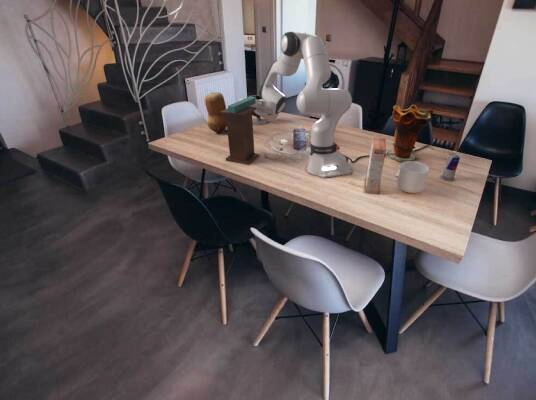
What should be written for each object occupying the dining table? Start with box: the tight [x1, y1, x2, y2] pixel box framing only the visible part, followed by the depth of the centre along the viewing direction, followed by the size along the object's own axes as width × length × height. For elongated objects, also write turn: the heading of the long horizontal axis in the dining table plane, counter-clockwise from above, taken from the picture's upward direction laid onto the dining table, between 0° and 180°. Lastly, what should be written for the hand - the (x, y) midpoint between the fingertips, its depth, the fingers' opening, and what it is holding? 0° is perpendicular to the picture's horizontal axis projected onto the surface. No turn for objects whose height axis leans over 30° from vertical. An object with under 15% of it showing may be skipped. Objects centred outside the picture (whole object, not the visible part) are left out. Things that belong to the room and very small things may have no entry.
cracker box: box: [365, 137, 387, 194], centre depth 136 cm, size 14×6×21 cm, turn 168°
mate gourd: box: [248, 94, 268, 126], centre depth 216 cm, size 16×14×20 cm
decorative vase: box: [386, 104, 434, 162], centre depth 166 cm, size 21×23×28 cm
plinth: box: [220, 107, 260, 165], centre depth 158 cm, size 14×13×26 cm
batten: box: [227, 95, 256, 113], centre depth 154 cm, size 22×4×3 cm, turn 160°
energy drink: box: [441, 152, 461, 181], centre depth 148 cm, size 5×5×12 cm
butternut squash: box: [204, 91, 227, 134], centre depth 193 cm, size 14×13×25 cm
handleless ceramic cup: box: [396, 160, 430, 194], centre depth 137 cm, size 12×12×11 cm
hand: (250, 99), depth 161 cm, fingers closed on batten, 3 cm apart
